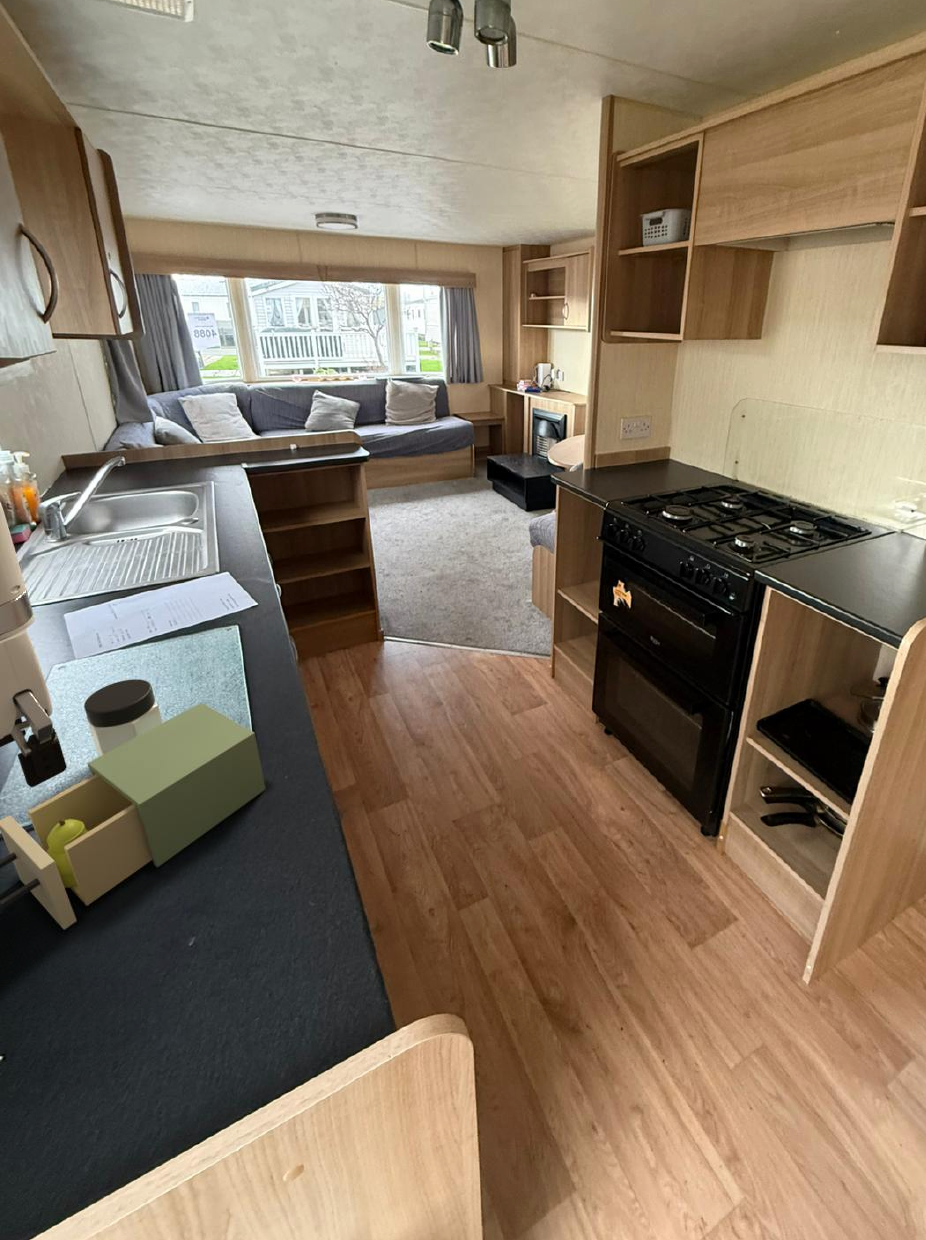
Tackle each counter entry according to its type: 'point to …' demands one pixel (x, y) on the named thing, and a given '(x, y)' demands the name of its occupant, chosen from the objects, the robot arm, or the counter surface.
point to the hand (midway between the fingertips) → (27, 759)
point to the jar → (121, 713)
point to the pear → (58, 840)
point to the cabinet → (184, 776)
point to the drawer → (77, 847)
